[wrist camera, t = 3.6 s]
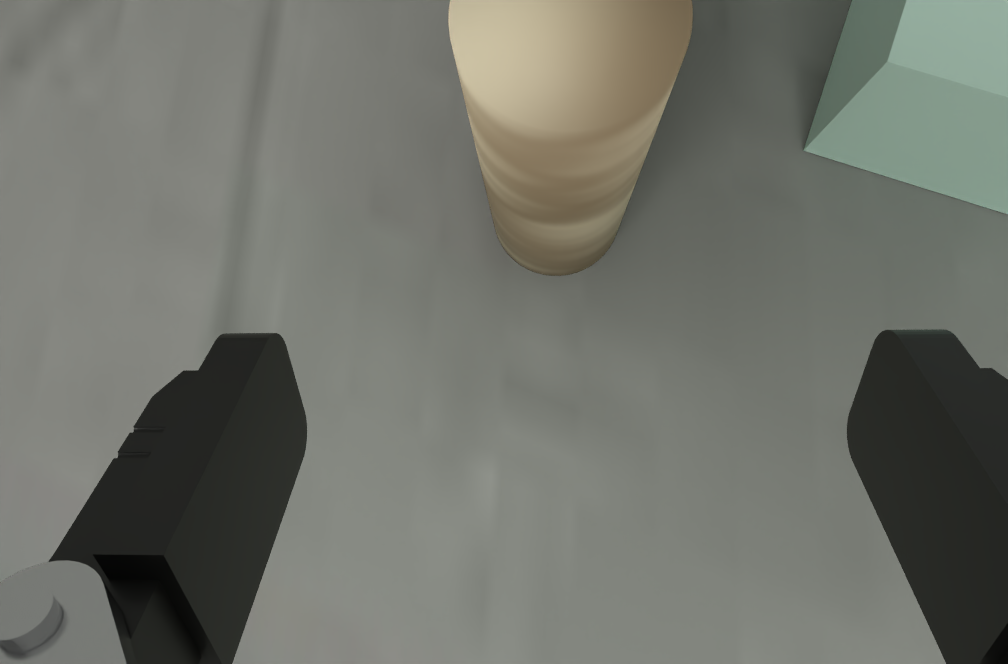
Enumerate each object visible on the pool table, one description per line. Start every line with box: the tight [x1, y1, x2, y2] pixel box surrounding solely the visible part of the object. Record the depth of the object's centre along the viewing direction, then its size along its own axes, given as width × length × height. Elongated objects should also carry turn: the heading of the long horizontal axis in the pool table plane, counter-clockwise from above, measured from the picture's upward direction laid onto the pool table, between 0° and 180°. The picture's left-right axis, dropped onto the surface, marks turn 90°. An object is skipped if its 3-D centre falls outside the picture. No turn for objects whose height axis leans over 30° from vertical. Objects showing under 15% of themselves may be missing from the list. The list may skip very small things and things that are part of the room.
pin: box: [448, 0, 693, 276], centre depth 16 cm, size 4×4×10 cm
